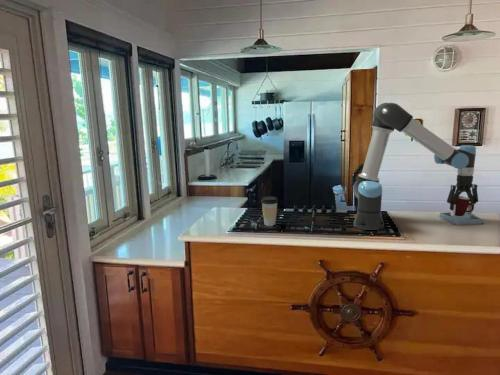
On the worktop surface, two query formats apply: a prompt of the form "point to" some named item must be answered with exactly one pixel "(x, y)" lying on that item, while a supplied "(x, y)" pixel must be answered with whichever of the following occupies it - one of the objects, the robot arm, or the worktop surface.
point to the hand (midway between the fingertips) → (461, 215)
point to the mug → (462, 205)
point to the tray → (462, 219)
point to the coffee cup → (269, 210)
